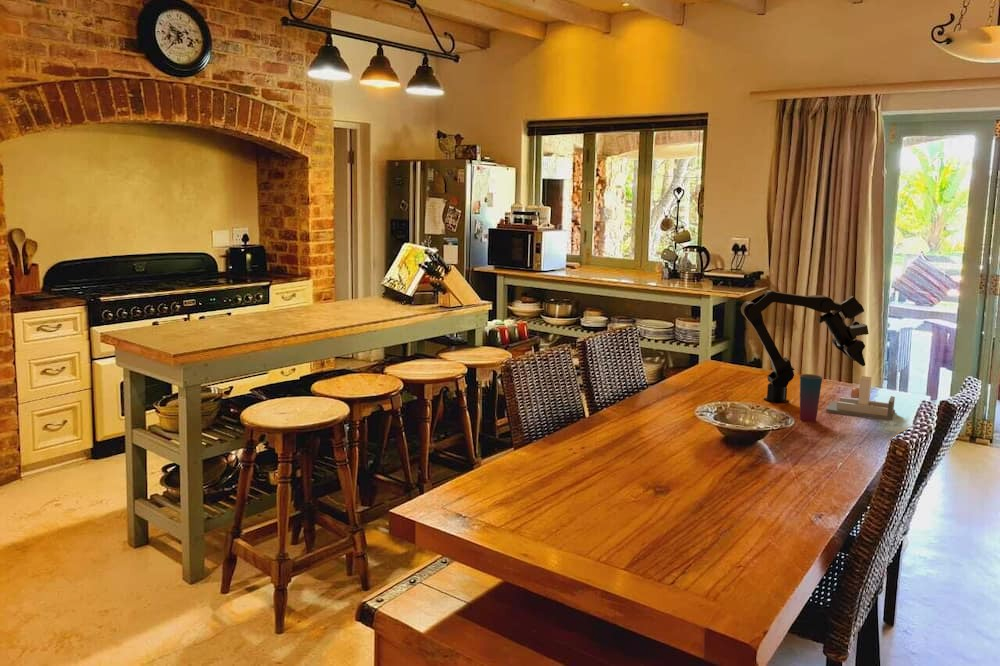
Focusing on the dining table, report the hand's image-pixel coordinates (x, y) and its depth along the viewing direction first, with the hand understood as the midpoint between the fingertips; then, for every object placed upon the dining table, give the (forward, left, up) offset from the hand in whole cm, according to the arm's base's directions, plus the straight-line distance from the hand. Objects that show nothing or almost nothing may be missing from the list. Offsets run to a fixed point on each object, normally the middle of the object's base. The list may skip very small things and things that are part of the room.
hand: (859, 363), depth 273 cm
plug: (-8, -8, -14) cm, 18 cm away
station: (-8, -8, -15) cm, 19 cm away
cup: (-32, -8, -15) cm, 37 cm away
